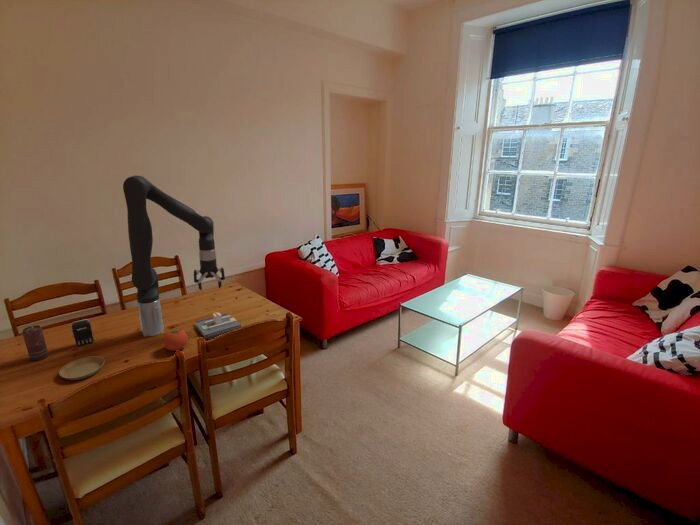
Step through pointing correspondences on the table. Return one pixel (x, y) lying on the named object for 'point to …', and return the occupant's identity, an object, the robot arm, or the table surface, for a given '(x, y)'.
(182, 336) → the tomato
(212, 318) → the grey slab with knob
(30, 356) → the can
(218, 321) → the breaker lever
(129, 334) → the table surface
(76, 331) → the battery charger
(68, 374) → the plant saucer
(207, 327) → the panel
